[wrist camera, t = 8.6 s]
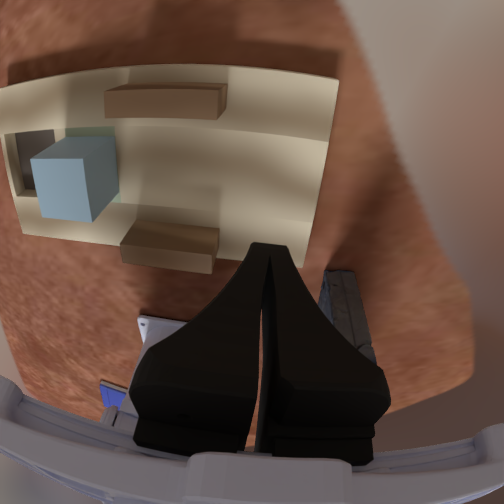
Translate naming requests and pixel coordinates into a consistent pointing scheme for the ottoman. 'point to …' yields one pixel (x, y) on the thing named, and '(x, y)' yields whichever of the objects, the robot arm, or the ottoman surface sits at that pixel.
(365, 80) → the ottoman surface
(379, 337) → the ottoman surface
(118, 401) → the blue book
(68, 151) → the blue block
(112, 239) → the cream flat tray
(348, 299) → the vhs cassette tape
